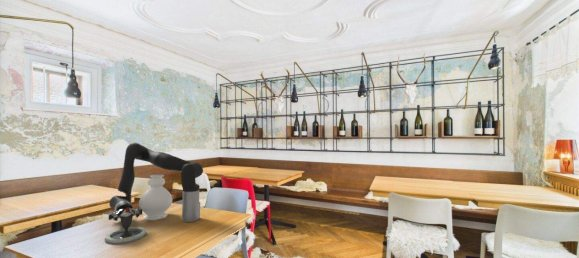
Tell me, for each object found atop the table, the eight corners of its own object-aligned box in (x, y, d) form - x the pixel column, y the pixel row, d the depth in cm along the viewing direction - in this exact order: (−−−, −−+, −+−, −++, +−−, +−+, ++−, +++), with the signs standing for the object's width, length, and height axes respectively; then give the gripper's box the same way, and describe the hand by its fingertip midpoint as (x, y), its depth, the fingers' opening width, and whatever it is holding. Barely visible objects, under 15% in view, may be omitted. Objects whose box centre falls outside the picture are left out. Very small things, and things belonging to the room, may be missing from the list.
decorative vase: (152, 211, 160) (153, 172, 161) (177, 212, 157) (178, 173, 158) (131, 220, 142) (132, 177, 143) (159, 222, 140) (160, 178, 140)
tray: (130, 227, 131) (130, 224, 131) (154, 232, 125) (154, 229, 125) (95, 240, 115) (96, 236, 116) (121, 246, 109) (121, 242, 109)
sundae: (126, 238, 117) (127, 206, 117) (114, 237, 118) (115, 205, 118) (137, 233, 123) (138, 203, 123) (126, 232, 124) (127, 202, 125)
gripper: (107, 204, 127) (109, 212, 115) (139, 199, 136) (144, 206, 124) (106, 218, 127) (108, 228, 115) (139, 213, 136) (144, 221, 124)
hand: (127, 217), depth 119 cm, fingers open, 8 cm apart
